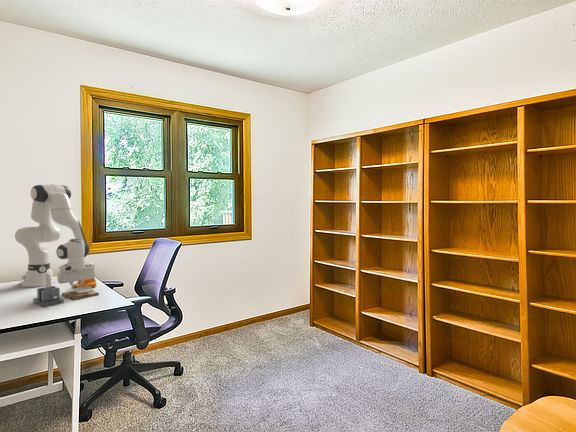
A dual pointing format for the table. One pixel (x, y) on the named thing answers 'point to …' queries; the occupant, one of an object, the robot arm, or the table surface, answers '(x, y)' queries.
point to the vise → (48, 294)
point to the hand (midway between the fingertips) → (76, 288)
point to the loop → (81, 288)
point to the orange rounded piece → (88, 282)
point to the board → (80, 294)
